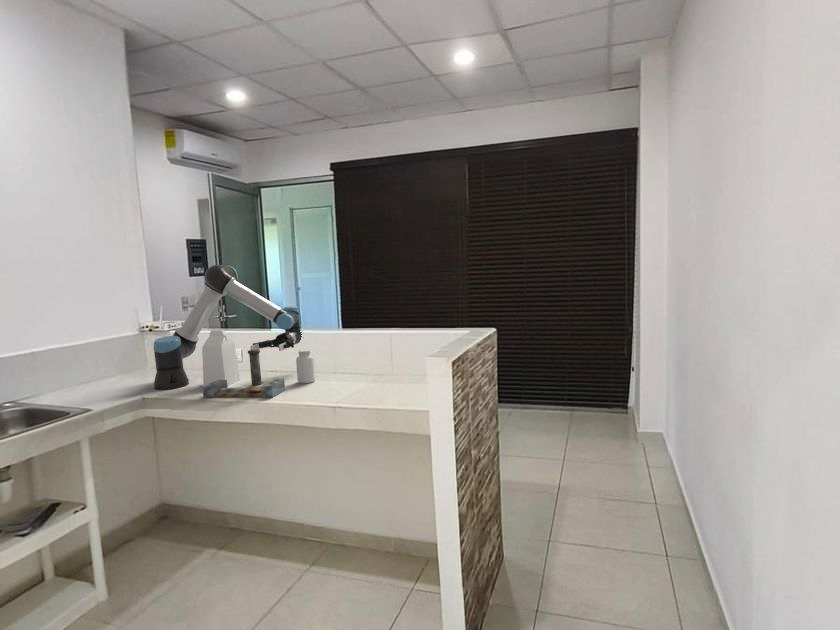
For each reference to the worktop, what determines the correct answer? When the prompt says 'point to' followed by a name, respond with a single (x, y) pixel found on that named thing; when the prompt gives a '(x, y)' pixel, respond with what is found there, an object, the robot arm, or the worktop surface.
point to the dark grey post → (255, 372)
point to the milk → (219, 359)
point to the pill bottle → (305, 367)
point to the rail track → (242, 390)
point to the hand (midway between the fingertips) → (265, 348)
